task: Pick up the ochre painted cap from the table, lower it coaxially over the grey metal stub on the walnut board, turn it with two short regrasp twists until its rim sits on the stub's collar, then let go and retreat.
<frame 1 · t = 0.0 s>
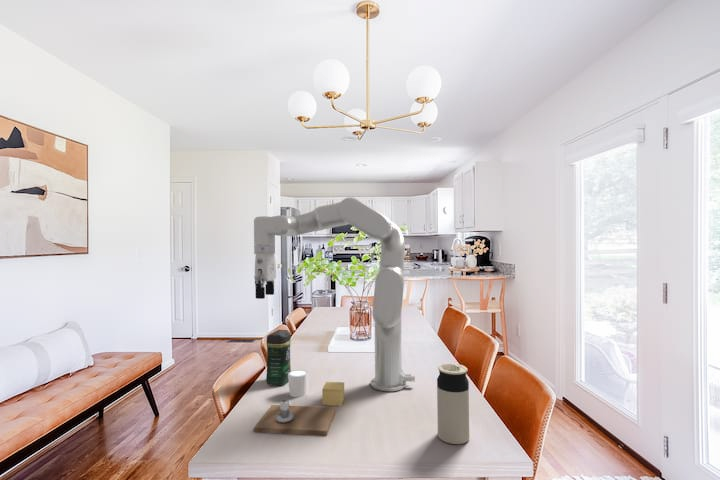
hand: (265, 296, 138), 31 cm above the table, tool pointing down, fingers open, 9 cm apart
board: (297, 421, 107), on the table
stub: (284, 424, 105), resting on board
coffee jar: (279, 382, 137), on the table
travel mug: (453, 437, 97), on the table
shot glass: (298, 394, 126), on the table
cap: (333, 401, 120), on the table
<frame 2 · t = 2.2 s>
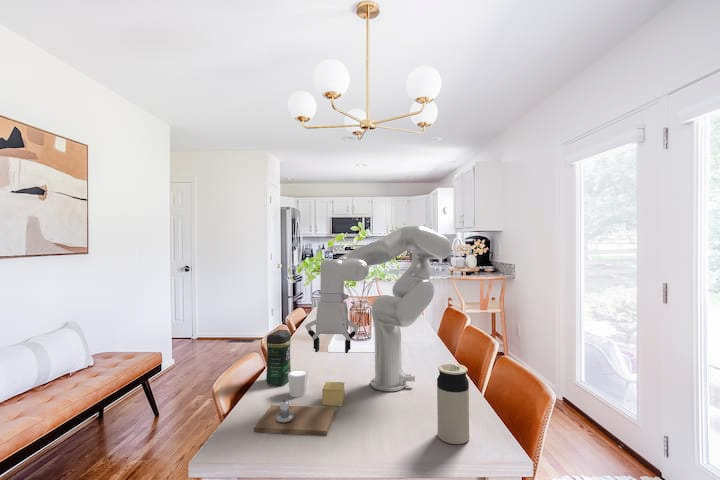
hand: (332, 351, 120), 16 cm above the table, tool pointing down, fingers open, 9 cm apart
nothing on the table moved.
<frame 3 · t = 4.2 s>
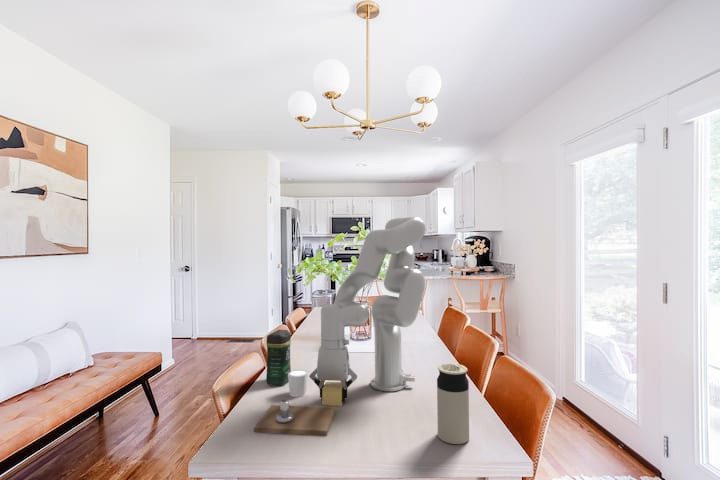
hand: (333, 399, 120), 1 cm above the table, tool pointing down, fingers closed on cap, 6 cm apart
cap: (333, 401, 120), on the table, touching gripper
everything else where it was.
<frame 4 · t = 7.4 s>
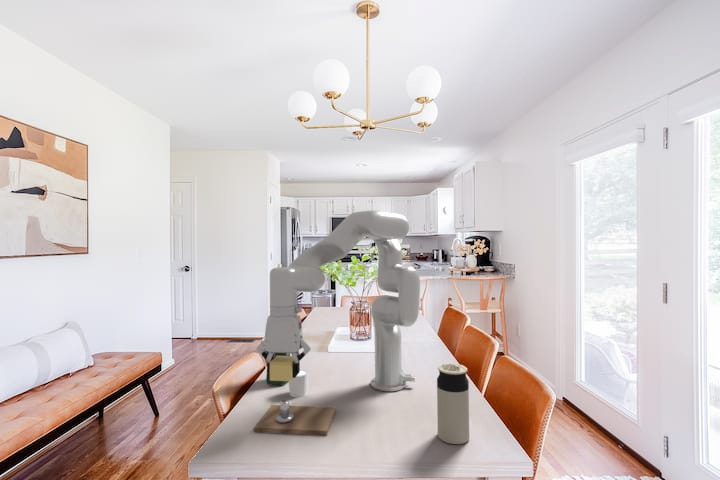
hand: (283, 375, 105), 14 cm above the table, tool pointing down, fingers closed on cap, 6 cm apart
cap: (283, 376, 105), point 13 cm above the table, touching gripper
everything else where it was.
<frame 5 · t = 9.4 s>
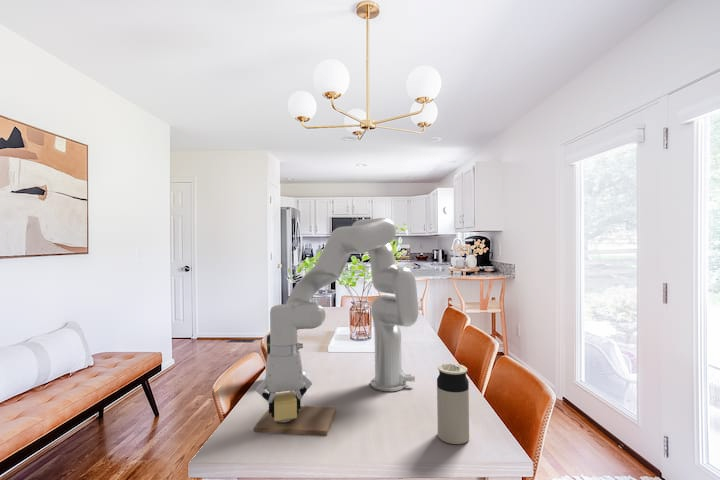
hand: (284, 412, 105), 3 cm above the table, tool pointing down, fingers closed on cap, 6 cm apart
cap: (284, 414, 105), point 3 cm above the table, touching gripper
everything else where it was.
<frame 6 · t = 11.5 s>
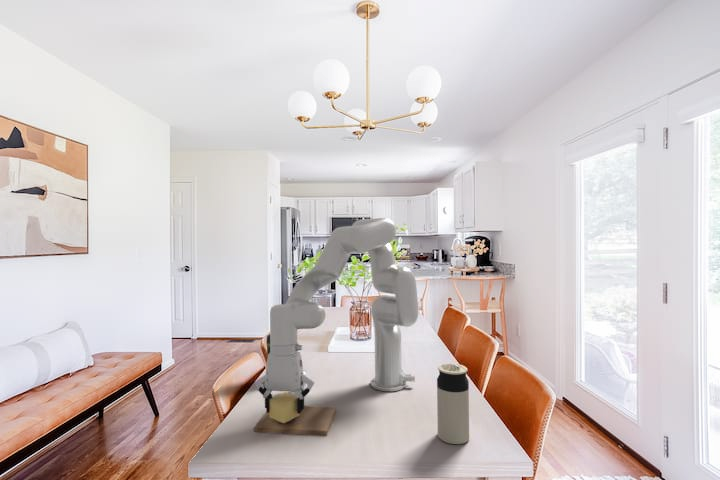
hand: (284, 410, 105), 4 cm above the table, tool pointing down, fingers closed on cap, 8 cm apart
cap: (284, 416, 105), point 2 cm above the table, touching gripper, stub
everything else where it was.
when the fingers open (4 cm above the table, at t = 13.9 s): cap stays where it is, resting on stub.
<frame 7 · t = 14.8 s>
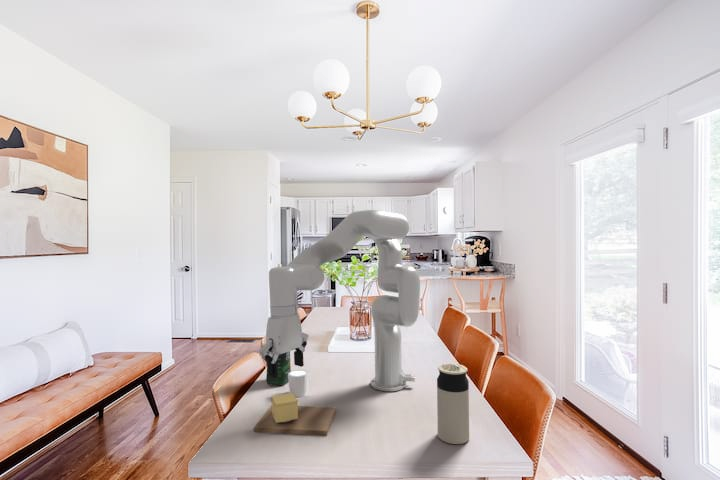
hand: (286, 371, 106), 15 cm above the table, tool pointing down, fingers open, 9 cm apart
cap: (284, 416, 105), point 2 cm above the table, touching stub
everything else where it was.
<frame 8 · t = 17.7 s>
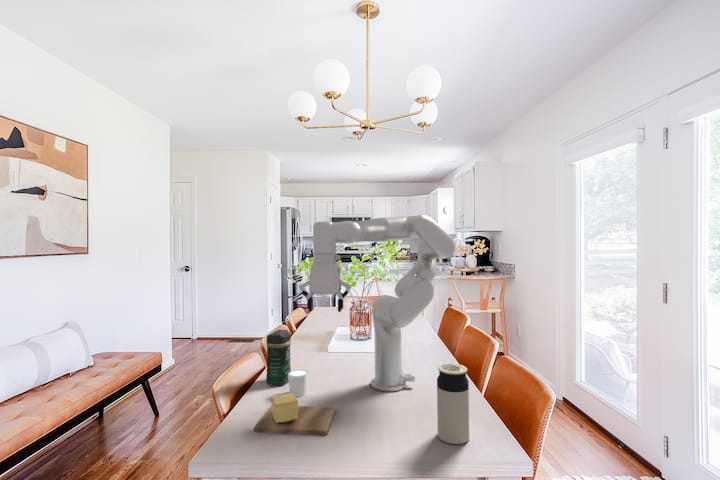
hand: (325, 310, 123), 28 cm above the table, tool pointing down, fingers open, 9 cm apart
nothing on the table moved.
at the end: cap 0.0 cm from the stub (horizontally); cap point 2.2 cm above the table; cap tilted 0° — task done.
